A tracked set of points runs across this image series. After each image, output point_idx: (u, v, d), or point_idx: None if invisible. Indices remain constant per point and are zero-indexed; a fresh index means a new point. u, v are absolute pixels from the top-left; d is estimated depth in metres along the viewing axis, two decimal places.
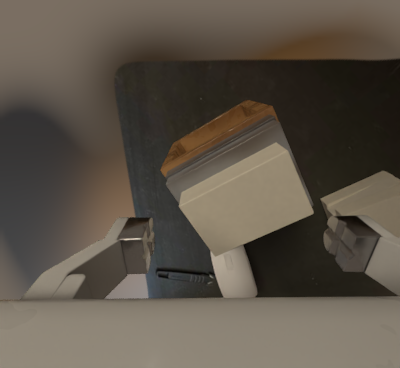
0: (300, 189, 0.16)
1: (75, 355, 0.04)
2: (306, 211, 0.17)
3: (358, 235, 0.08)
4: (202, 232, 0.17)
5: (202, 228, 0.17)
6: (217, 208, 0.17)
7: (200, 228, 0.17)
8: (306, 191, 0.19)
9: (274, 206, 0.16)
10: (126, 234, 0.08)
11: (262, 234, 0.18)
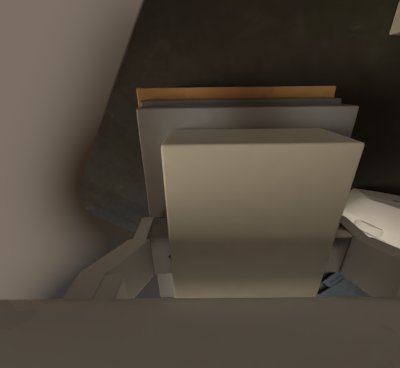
0: (274, 152, 0.06)
1: (75, 355, 0.04)
2: (343, 159, 0.06)
3: None
4: None
5: None
6: (214, 296, 0.09)
7: None
8: (313, 109, 0.08)
9: (276, 216, 0.07)
10: (154, 234, 0.08)
11: (325, 257, 0.08)
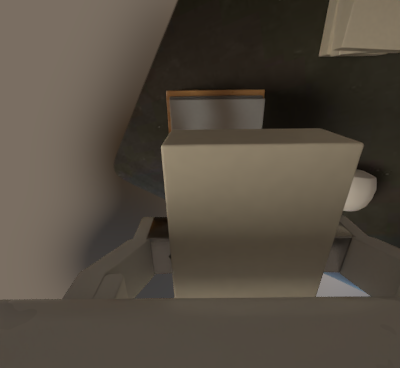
0: (273, 152, 0.06)
1: (75, 355, 0.04)
2: (342, 159, 0.06)
3: None
4: None
5: None
6: (214, 295, 0.09)
7: None
8: (245, 100, 0.19)
9: (276, 216, 0.07)
10: (154, 234, 0.08)
11: (324, 257, 0.08)
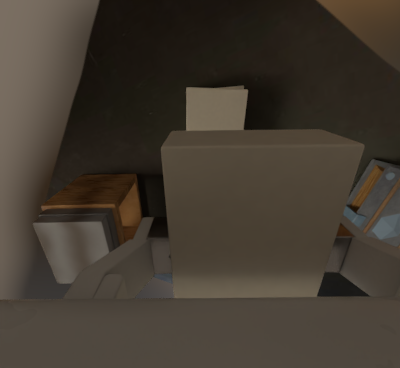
0: (274, 153, 0.06)
1: (75, 355, 0.04)
2: (343, 160, 0.06)
3: None
4: None
5: None
6: (214, 297, 0.09)
7: None
8: (87, 222, 0.26)
9: (276, 218, 0.07)
10: (154, 234, 0.08)
11: (325, 259, 0.08)
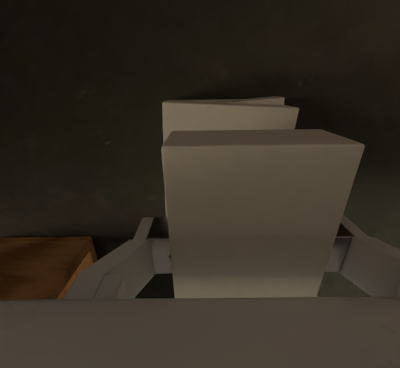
0: (274, 153, 0.06)
1: (75, 355, 0.04)
2: (343, 160, 0.06)
3: None
4: None
5: None
6: (214, 297, 0.09)
7: None
8: None
9: (276, 218, 0.07)
10: (154, 234, 0.08)
11: (325, 258, 0.08)
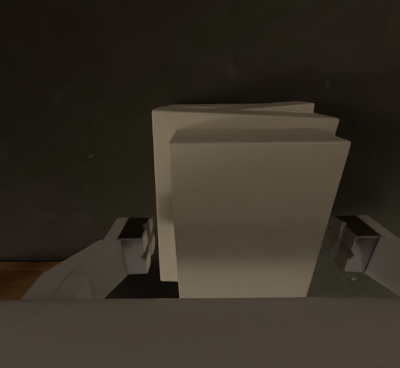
0: (269, 149, 0.07)
1: (75, 355, 0.04)
2: (332, 156, 0.07)
3: (358, 235, 0.08)
4: None
5: None
6: (215, 283, 0.10)
7: None
8: None
9: (272, 209, 0.08)
10: (126, 235, 0.08)
11: (317, 247, 0.09)
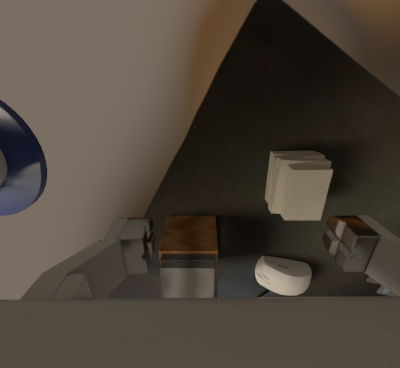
0: (315, 171, 0.32)
1: (75, 355, 0.04)
2: (329, 172, 0.32)
3: (358, 235, 0.08)
4: (303, 218, 0.35)
5: (301, 217, 0.35)
6: (296, 207, 0.34)
7: (300, 218, 0.35)
8: (203, 269, 0.33)
9: (314, 185, 0.32)
10: (126, 235, 0.08)
11: (325, 195, 0.33)
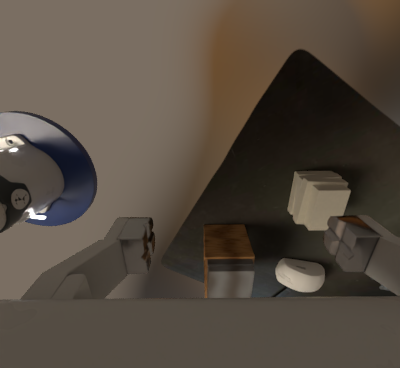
0: (336, 191, 0.39)
1: (75, 355, 0.04)
2: (347, 192, 0.39)
3: (358, 235, 0.08)
4: (324, 228, 0.42)
5: (323, 228, 0.42)
6: (320, 219, 0.41)
7: (322, 228, 0.42)
8: (245, 271, 0.40)
9: (335, 202, 0.40)
10: (126, 235, 0.08)
11: (343, 210, 0.41)
